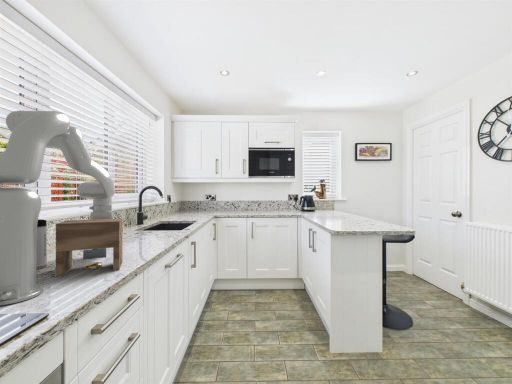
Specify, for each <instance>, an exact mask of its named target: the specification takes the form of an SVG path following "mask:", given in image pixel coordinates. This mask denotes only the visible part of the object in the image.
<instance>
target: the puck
mask: <svg viewBox="0 0 512 384" xmlns="http://www.w3.org/2000/svg"><path fill="white" fill-rule="evenodd" d="M102 267H103V262H100V261H95V262H89V263H85V265H84V270H97V269H100V268H102Z"/></svg>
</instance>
